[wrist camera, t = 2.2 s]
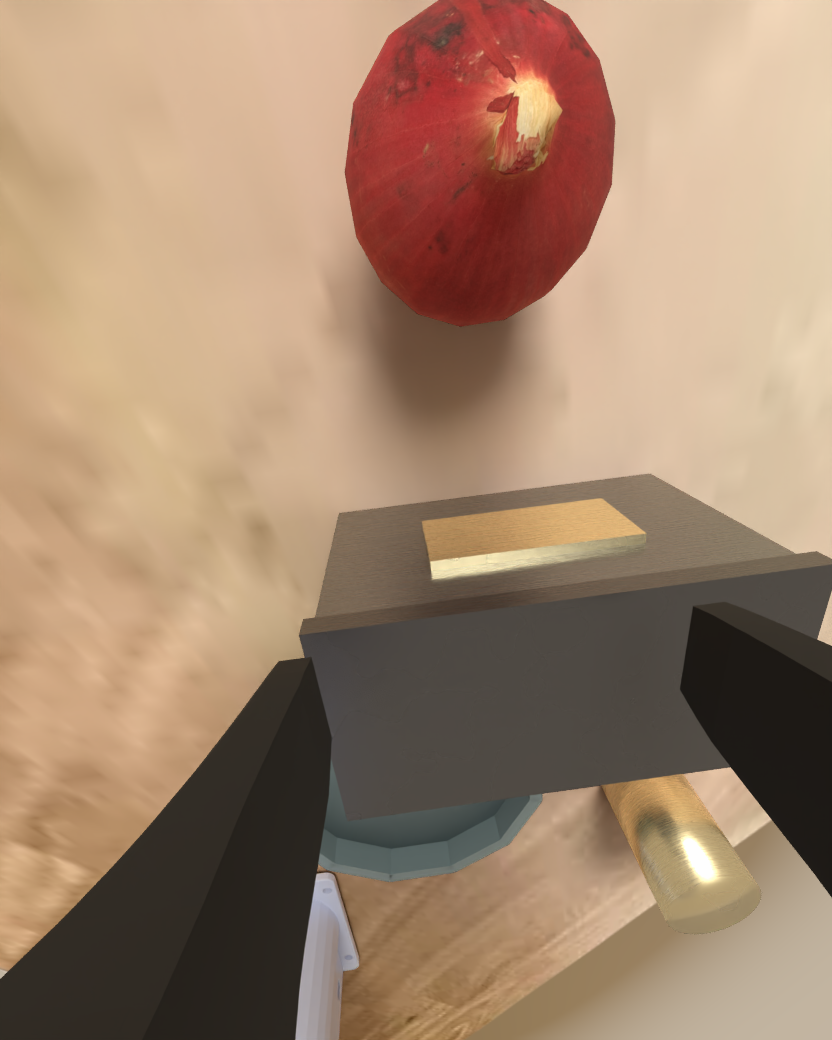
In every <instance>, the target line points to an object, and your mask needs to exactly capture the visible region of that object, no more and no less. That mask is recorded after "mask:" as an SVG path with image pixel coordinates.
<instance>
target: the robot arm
mask: <svg viewBox="0 0 832 1040" xmlns="http://www.w3.org/2000/svg"><path fill="white" fill-rule="evenodd" d="M680 691H681V692H682V694H683V696H684V698H685V699H686V701H687V703H688V704H689V706H690V708H691V710H692V711H693V713H694V715H695V716H696V718H697V720H698V721H699V723H700V725H701V726H702V728H703V729H704V731H705V732H706V734H707V736H708V737H709V739H710V740H711V742H712V743H713V744H714V746H715V747H716V748H717V750H718V751H719V752H720V754H721V755H722V756H723V758H724V759H725V760H726V762H727V763H728V764H729V765H730V767H731V768H732V769H733V771H734V772H735V773H736V775H737V776H738V777H739V778H740V780H741V781H742V782H743V784H744V785H745V786H746V787H747V789H748V790H749V791H750V793H751V794H752V795H753V796H754V798H755V799H756V800H757V801H758V803H759V804H760V805H761V807H762V808H763V809H764V810H765V812H766V813H767V814H768V815H769V817H770V818H771V819H772V821H773V822H774V823H775V824H776V826H777V827H778V828H779V829H780V831H781V832H782V833H783V835H784V836H785V837H786V838H787V840H788V841H789V842H790V843H791V845H792V846H793V847H794V848H795V850H796V851H797V852H798V854H799V855H800V856H801V857H802V859H803V860H804V861H805V863H806V864H807V865H808V866H809V868H810V869H811V870H812V871H813V873H814V874H815V875H816V877H817V878H818V879H819V881H820V882H821V884H822V885H823V886H824V887H825V889H826V890H827V891H828V893H829V894H830V896H831V897H832V646H830V645H828V644H826V643H824V642H821V641H819V640H817V639H814V638H812V637H810V636H808V635H805V634H803V633H801V632H798V631H796V630H794V629H791V628H789V627H787V626H784V625H782V624H780V623H778V622H775V621H773V620H770V619H768V618H766V617H763V616H761V615H759V614H756V613H754V612H751V611H749V610H746V609H744V608H741V607H738V606H736V605H733V604H730V603H727V602H719V603H711V604H704V605H696V606H693V609H692V615H691V622H690V628H689V634H688V641H687V647H686V653H685V660H684V666H683V672H682V678H681V685H680ZM331 744H332V736H331V732H330V728H329V724H328V720H327V716H326V712H325V708H324V704H323V700H322V697H321V693H320V689H319V685H318V681H317V677H316V673H315V669H314V665H313V661H312V657H308V658H300V659H293V660H285V661H279V662H278V663H277V664H276V665H275V667H274V668H273V669H272V671H271V672H270V673H269V674H268V676H267V677H266V678H265V680H264V681H263V683H262V684H261V685H260V687H259V688H258V689H257V691H256V692H255V693H254V695H253V696H252V698H251V699H250V700H249V702H248V703H247V704H246V706H245V707H244V708H243V710H242V711H241V712H240V714H239V715H238V716H237V718H236V719H235V720H234V722H233V723H232V724H231V726H230V727H229V728H228V730H227V731H226V732H225V734H224V735H223V736H222V737H221V739H220V740H219V741H218V743H217V744H216V745H215V746H214V748H213V749H212V750H211V752H210V753H209V754H208V755H207V757H206V758H205V759H204V761H203V762H202V763H201V764H200V766H199V767H198V768H197V769H196V771H195V772H194V773H193V774H192V776H191V777H190V778H189V779H188V780H187V782H186V783H185V784H184V785H183V786H182V788H181V789H180V790H179V791H178V792H177V793H176V795H175V796H174V797H173V798H172V799H171V801H170V802H169V803H168V804H167V805H166V807H165V808H164V809H163V810H162V811H161V813H160V814H159V815H158V816H157V817H156V818H155V820H154V821H153V822H152V823H151V824H150V825H149V827H148V828H147V829H146V830H145V831H144V832H143V833H142V835H141V836H140V837H139V838H138V839H137V840H136V841H135V842H134V844H133V845H132V846H131V847H130V848H129V849H128V850H127V851H126V852H125V854H124V855H123V856H122V857H121V858H120V859H119V860H118V861H117V862H116V863H115V864H114V866H113V867H112V868H111V869H110V870H109V871H108V872H107V873H106V874H105V875H104V876H103V877H102V878H101V879H100V880H99V881H98V882H97V884H96V885H95V886H94V887H93V888H92V889H91V890H90V891H89V892H88V893H87V894H86V895H85V896H84V897H83V898H82V899H81V900H80V901H79V902H78V903H77V905H76V906H75V907H74V908H73V909H72V910H71V911H70V912H69V913H68V914H67V915H66V916H65V917H64V918H63V919H62V920H61V921H60V922H59V923H58V924H57V925H56V926H55V927H54V928H53V929H52V930H51V931H50V932H48V933H47V934H46V935H45V936H44V937H43V938H42V939H41V940H40V941H39V942H38V943H37V944H36V945H35V946H34V947H33V948H32V949H31V950H30V951H29V952H28V953H27V954H26V955H25V956H24V957H23V958H22V959H21V960H19V961H18V962H17V963H16V964H15V965H14V966H13V967H12V968H11V969H10V970H9V971H8V972H7V973H6V974H5V975H4V976H3V977H2V978H1V979H0V1040H339V1032H340V1015H341V999H342V982H343V971H348V970H353V969H356V968H357V967H358V966H359V955H358V952H357V949H356V945H355V942H354V939H353V935H352V932H351V929H350V925H349V922H348V919H347V915H346V912H345V909H344V905H343V902H342V899H341V895H340V892H339V889H338V885H337V882H336V879H335V876H334V875H333V874H331V873H318V874H317V868H318V862H319V856H320V849H321V843H322V837H323V830H324V824H325V817H326V811H327V804H328V797H329V785H330V768H331Z"/></svg>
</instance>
